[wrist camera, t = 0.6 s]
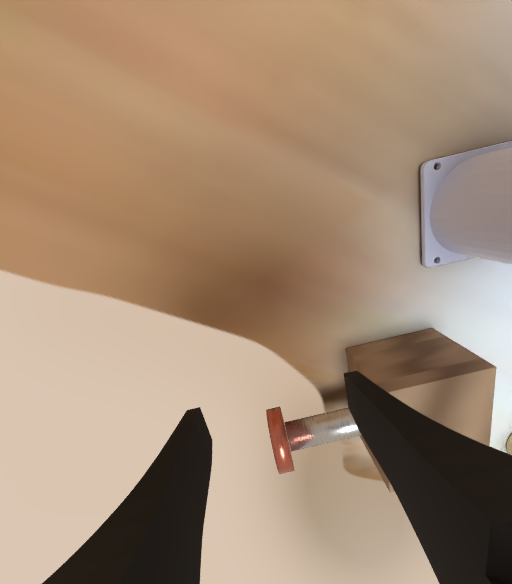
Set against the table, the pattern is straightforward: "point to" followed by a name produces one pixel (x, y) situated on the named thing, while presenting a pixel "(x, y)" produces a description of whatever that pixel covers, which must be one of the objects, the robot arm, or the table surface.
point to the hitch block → (431, 381)
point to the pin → (307, 433)
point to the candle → (509, 445)
